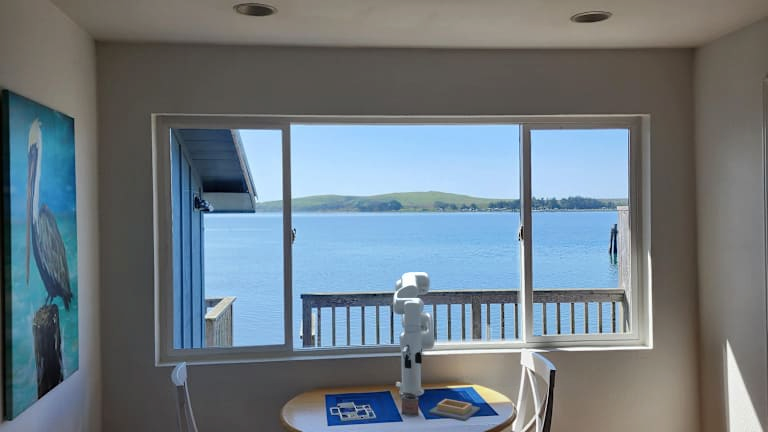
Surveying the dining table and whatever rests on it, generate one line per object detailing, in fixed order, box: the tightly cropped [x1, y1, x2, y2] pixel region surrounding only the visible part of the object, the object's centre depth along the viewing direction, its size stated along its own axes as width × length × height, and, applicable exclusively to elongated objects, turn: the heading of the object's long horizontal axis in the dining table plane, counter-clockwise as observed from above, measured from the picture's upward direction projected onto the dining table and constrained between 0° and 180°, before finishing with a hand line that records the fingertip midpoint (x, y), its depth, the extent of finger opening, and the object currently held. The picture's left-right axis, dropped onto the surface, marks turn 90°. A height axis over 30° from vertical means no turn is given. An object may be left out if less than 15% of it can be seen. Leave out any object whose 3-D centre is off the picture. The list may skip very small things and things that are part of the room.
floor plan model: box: [329, 401, 377, 422], centre depth 270 cm, size 19×25×2 cm
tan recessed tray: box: [428, 398, 481, 422], centre depth 269 cm, size 18×16×4 cm
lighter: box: [400, 392, 420, 417], centre depth 267 cm, size 8×3×10 cm, turn 71°
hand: (413, 365), depth 267 cm, fingers open, 9 cm apart
